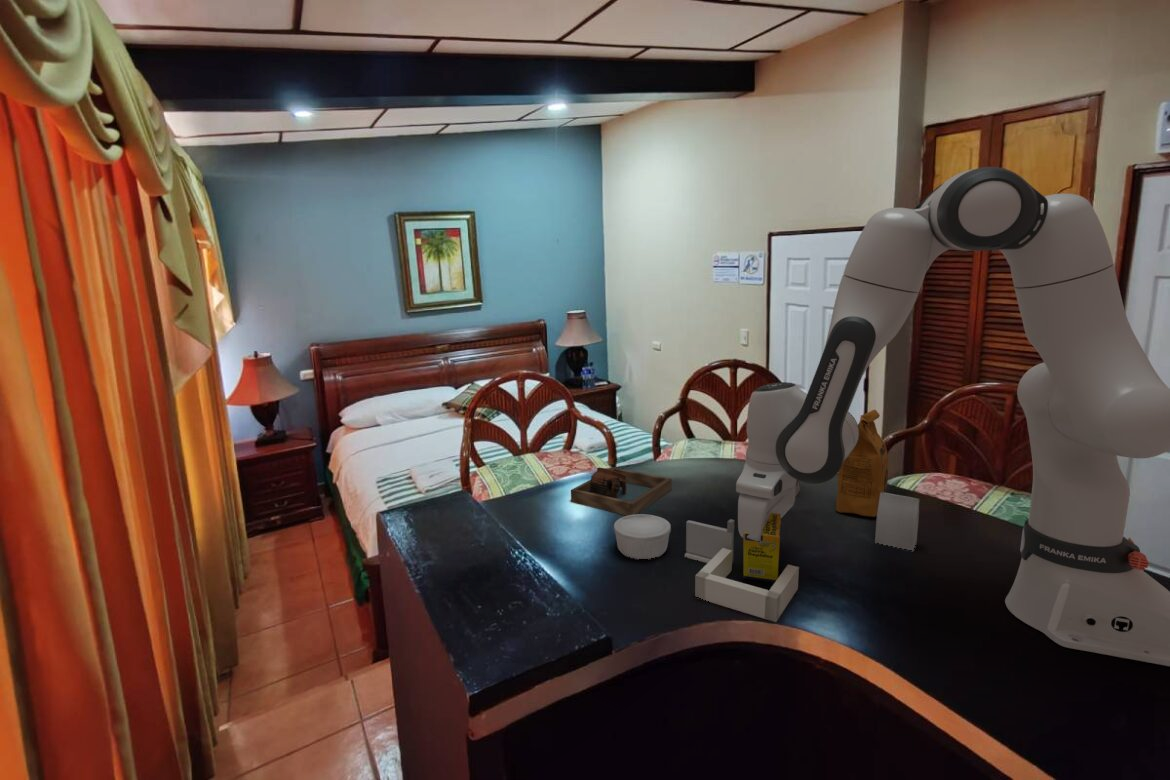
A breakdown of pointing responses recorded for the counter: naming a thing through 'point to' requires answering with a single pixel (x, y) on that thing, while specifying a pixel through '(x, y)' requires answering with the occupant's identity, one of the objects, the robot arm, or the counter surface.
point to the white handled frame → (743, 587)
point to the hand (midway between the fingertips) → (767, 544)
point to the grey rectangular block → (897, 521)
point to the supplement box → (763, 552)
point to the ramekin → (642, 536)
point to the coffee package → (863, 471)
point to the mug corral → (621, 506)
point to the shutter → (708, 538)
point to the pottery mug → (613, 482)
